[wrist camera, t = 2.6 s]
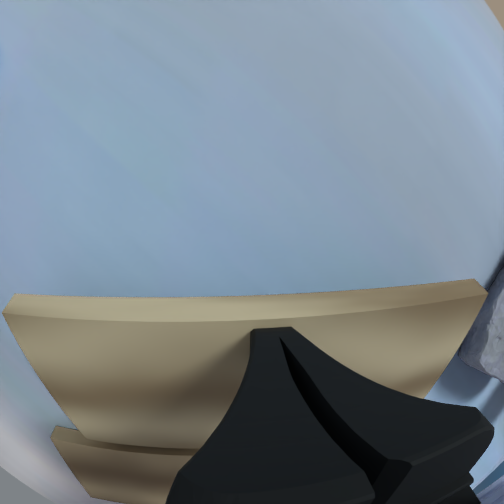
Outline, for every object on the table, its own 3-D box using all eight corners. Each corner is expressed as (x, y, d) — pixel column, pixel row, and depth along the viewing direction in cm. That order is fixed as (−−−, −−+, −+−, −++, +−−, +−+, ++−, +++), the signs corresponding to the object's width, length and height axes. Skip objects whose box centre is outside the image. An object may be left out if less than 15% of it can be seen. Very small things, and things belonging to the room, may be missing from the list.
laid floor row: (399, 463, 19) (405, 472, 18) (93, 486, 16) (90, 496, 15) (431, 401, 17) (440, 410, 16) (55, 425, 14) (50, 437, 13)
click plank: (404, 401, 16) (410, 415, 15) (89, 422, 14) (86, 439, 13) (474, 278, 11) (488, 293, 10) (14, 293, 9) (1, 312, 8)
